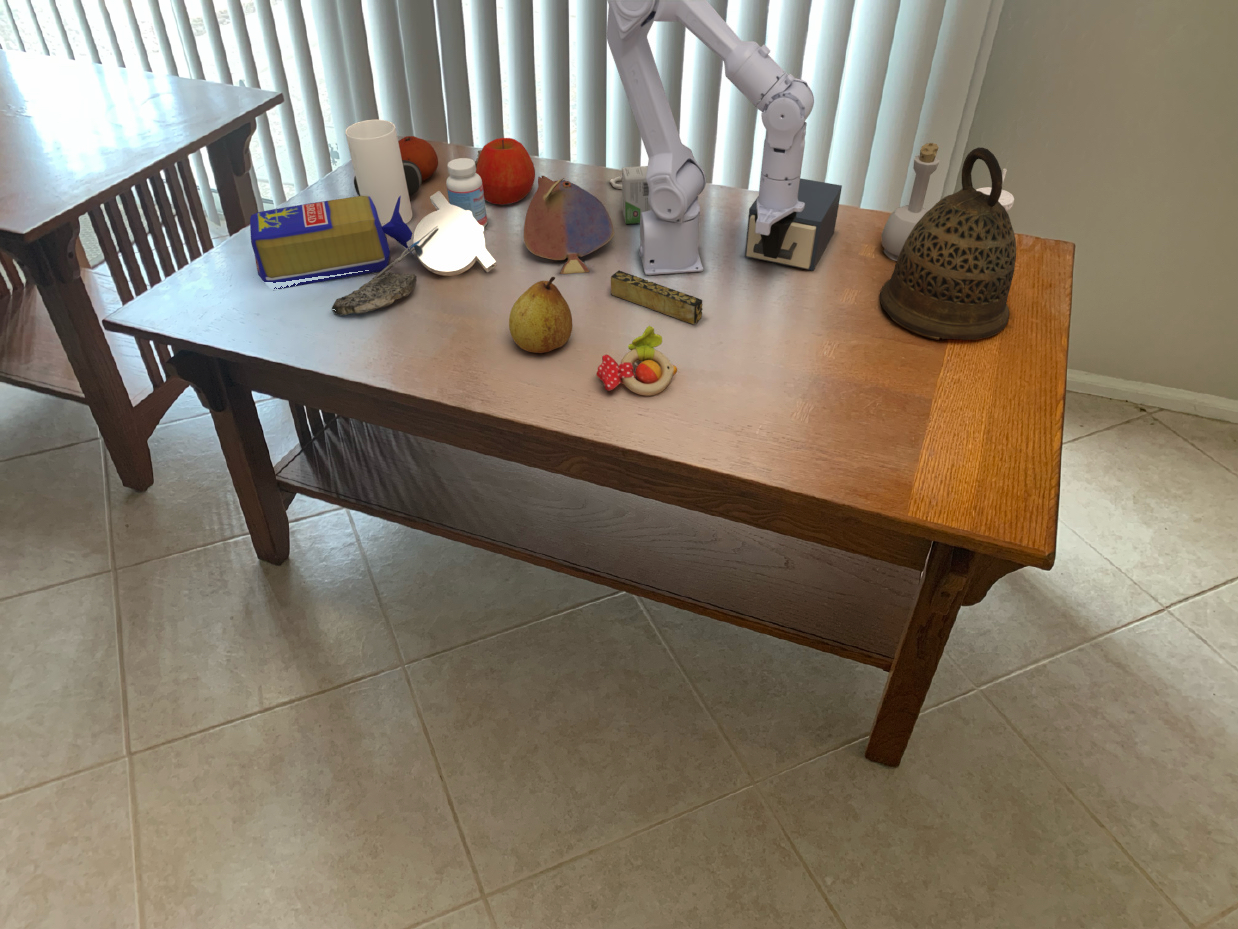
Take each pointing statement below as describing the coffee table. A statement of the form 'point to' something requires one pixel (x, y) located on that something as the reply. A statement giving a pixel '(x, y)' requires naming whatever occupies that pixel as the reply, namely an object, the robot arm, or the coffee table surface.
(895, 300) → the bell
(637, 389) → the bird rattle
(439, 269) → the tabbed white plastic disc
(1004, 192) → the smoothie
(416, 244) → the scissors
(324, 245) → the bread
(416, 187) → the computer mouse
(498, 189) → the apple
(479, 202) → the pill bottle
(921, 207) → the potion bottle
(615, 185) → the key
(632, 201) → the ink box
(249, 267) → the coffee table surface
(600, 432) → the coffee table surface
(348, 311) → the stone
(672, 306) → the decorative block
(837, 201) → the cabinet
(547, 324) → the fruit
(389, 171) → the cup
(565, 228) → the fish
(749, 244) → the drawer
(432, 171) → the fruit
